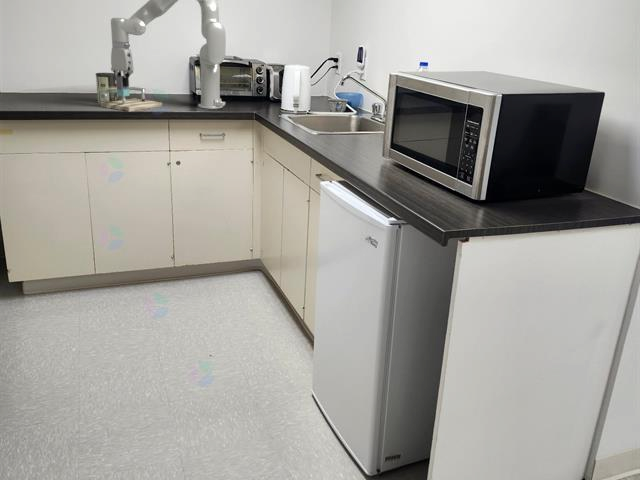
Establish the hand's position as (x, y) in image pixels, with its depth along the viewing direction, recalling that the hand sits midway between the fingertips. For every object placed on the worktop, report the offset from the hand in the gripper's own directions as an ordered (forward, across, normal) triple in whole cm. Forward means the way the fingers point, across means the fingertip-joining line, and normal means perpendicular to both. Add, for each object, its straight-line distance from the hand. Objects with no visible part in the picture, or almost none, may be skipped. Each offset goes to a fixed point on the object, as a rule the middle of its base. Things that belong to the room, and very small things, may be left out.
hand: (122, 85), depth 282 cm
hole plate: (+11, 0, -6) cm, 12 cm away
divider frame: (+9, +3, -5) cm, 10 cm away
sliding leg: (+8, 0, 0) cm, 8 cm away
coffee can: (+11, +18, -8) cm, 22 cm away
